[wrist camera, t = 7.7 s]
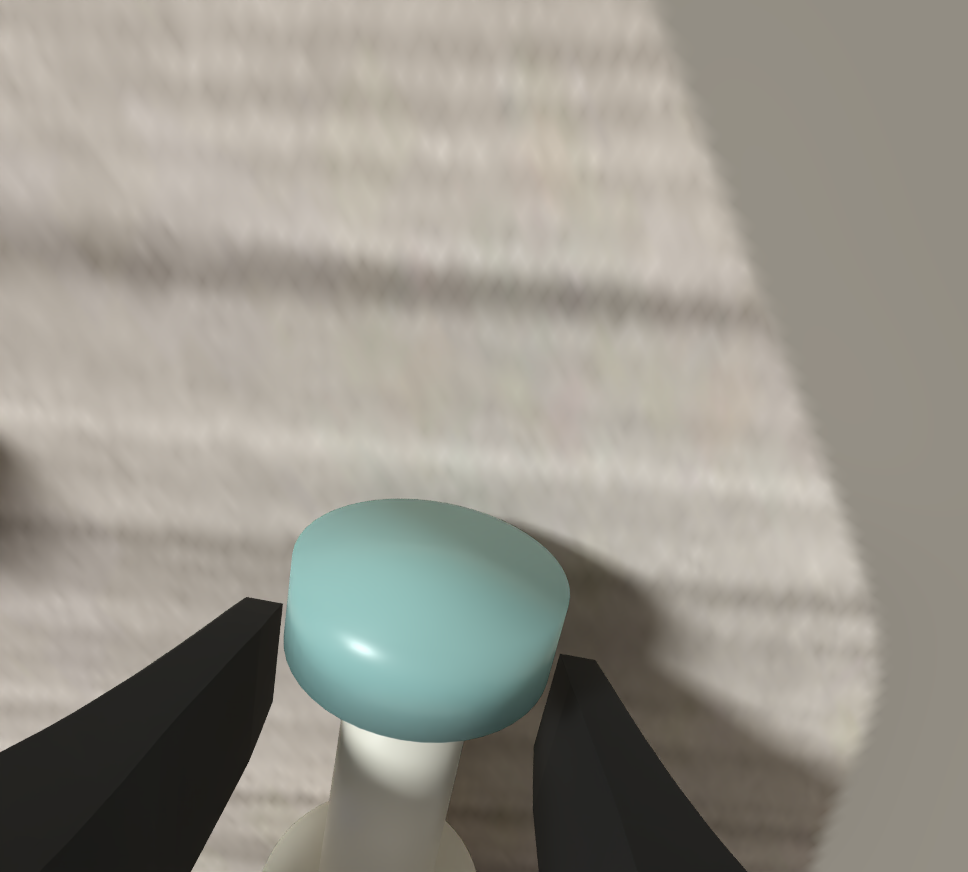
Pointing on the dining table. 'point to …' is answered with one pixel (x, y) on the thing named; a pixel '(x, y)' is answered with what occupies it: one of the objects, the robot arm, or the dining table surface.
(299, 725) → the dining table surface
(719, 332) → the dining table surface
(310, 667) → the push handle
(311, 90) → the dining table surface
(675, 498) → the dining table surface
